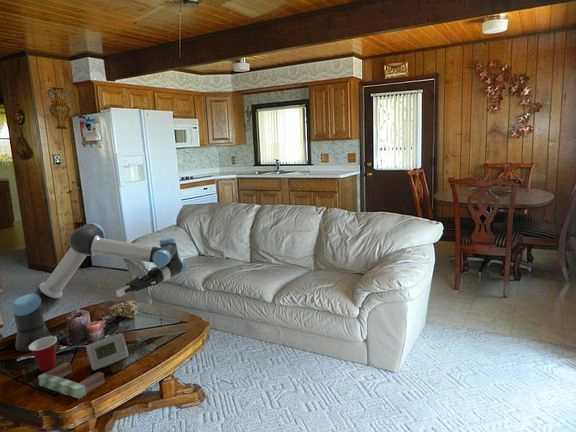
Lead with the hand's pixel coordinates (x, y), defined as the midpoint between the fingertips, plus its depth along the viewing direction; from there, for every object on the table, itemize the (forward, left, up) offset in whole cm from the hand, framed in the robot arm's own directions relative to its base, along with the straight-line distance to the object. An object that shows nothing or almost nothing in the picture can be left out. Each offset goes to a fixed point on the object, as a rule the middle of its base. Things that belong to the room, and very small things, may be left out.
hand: (117, 293), depth 195 cm
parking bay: (+2, -27, -27) cm, 39 cm away
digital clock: (+2, -10, -28) cm, 29 cm away
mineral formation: (-33, +29, -28) cm, 52 cm away
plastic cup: (-20, -24, -27) cm, 42 cm away
